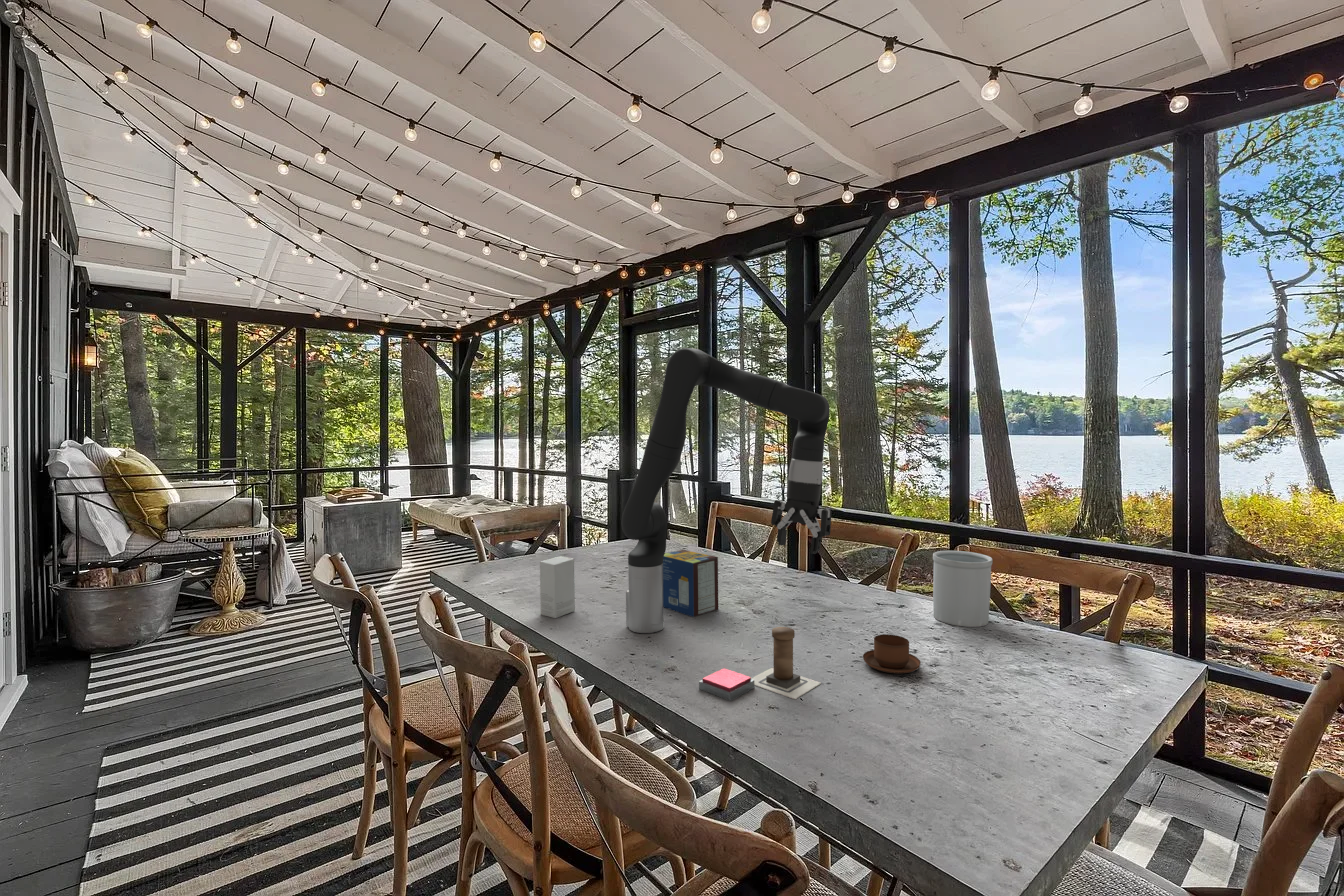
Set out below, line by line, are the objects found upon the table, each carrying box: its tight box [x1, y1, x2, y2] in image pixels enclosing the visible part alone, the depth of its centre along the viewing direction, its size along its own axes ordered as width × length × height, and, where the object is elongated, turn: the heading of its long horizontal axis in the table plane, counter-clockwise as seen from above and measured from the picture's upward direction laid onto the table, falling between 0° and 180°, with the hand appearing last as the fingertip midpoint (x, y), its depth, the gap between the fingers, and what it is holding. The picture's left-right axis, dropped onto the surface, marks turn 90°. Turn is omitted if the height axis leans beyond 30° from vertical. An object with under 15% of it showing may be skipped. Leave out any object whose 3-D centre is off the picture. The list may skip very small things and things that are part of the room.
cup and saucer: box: [862, 634, 921, 675], centre depth 136 cm, size 12×12×6 cm
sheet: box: [751, 666, 822, 700], centre depth 128 cm, size 12×10×1 cm
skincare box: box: [539, 555, 576, 619], centre depth 176 cm, size 8×7×16 cm
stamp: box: [766, 626, 801, 689], centre depth 128 cm, size 5×5×11 cm
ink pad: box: [698, 668, 755, 702], centre depth 125 cm, size 8×8×2 cm
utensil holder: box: [932, 550, 993, 628], centre depth 168 cm, size 15×15×18 cm
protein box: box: [663, 549, 719, 618], centre depth 181 cm, size 10×15×16 cm
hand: (797, 549), depth 142 cm, fingers open, 8 cm apart
